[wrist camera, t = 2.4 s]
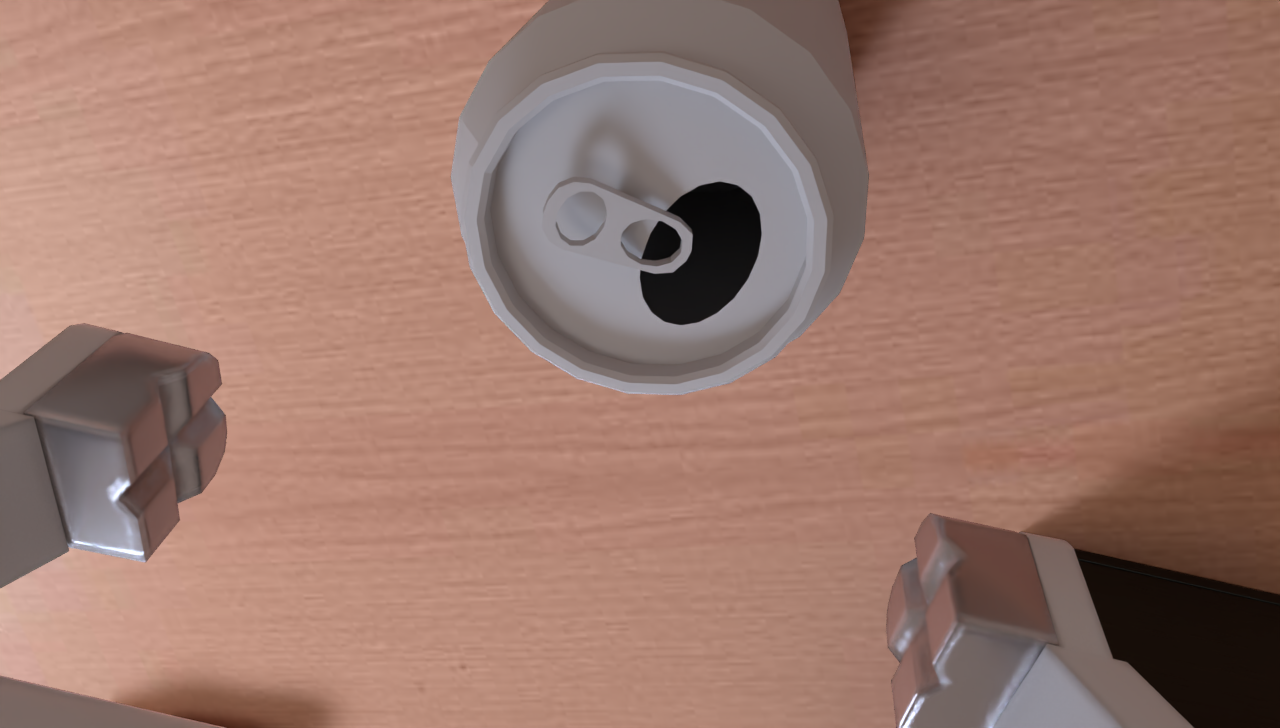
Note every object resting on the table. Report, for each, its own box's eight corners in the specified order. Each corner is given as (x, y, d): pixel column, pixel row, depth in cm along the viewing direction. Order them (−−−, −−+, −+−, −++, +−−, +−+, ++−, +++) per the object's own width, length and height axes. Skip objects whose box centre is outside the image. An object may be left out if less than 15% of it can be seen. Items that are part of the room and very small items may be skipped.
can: (763, 221, 28) (742, 488, 18) (531, 113, 27) (372, 329, 17) (902, -21, 23) (975, 151, 14) (631, -160, 23) (498, -83, 13)
